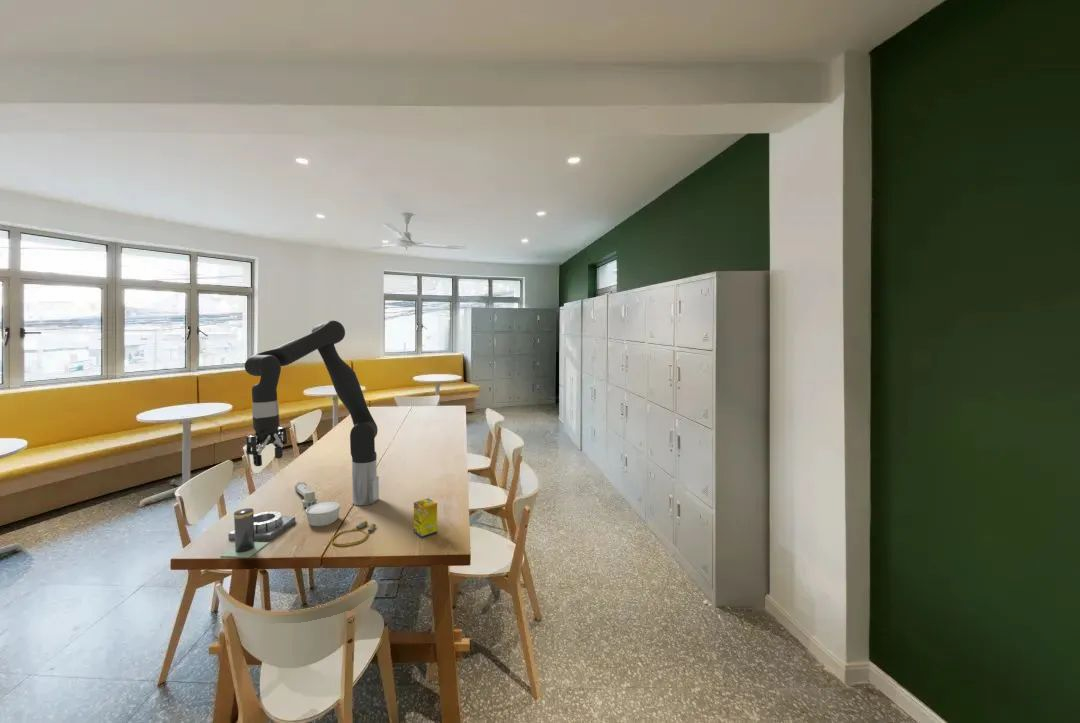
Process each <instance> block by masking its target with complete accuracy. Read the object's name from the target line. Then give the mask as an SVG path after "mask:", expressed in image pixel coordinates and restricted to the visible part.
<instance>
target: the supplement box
mask: <svg viewBox="0 0 1080 723" xmlns="http://www.w3.org/2000/svg"><path fill="white" fill-rule="evenodd" d="M413 533H414V534H416V535H417V536H419V538H421V539H425V538H428V537H430V536H432V535H435V534H437V533H438V503H437V502H436V501H434V500H432V499H431V498H429V497H428V498H424V499H420V500H417V501H413Z"/></svg>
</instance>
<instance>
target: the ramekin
mask: <svg viewBox="0 0 1080 723" xmlns="http://www.w3.org/2000/svg"><path fill="white" fill-rule="evenodd" d="M340 509H341V504H340V503H338V502H335V501H322V502H319V503H318V502H317V504H314V505H312V506H310V507H308V508H305V515H306V518H307V523H308V524H309V525H310V526H312V527H324V526H329V525H331V524H333V523H335V522H336V521H337V520H338V518H339V515H340V514H339V513H340Z"/></svg>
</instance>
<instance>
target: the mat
mask: <svg viewBox="0 0 1080 723" xmlns="http://www.w3.org/2000/svg"><path fill="white" fill-rule="evenodd" d="M254 543H255V547H254V548H253V549H251V550H249V551H246V552H236V551H235V545H234V546H233V547H232V548H230V549H228V550H227V551H225V552H224V553H223V554H221V555H220V558H236V559H237V558H238V559H239V558H241V559H245V558H246V559H249V558H251V557H252V556H254V555H255V554H256V553H258V552H259V551H260V550H262V549H264V548H265V547H266V546H267V545H269V542H267V541H266V542H265V541H254Z"/></svg>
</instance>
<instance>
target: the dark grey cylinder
mask: <svg viewBox="0 0 1080 723" xmlns="http://www.w3.org/2000/svg"><path fill="white" fill-rule="evenodd" d="M254 510H255V509H253V508H250V507H247V508H242V509H241V508H240V509H238V510H236V511H235V512H234V513H233V519H234V520H233V521H234V522H233V524H234V530H235V539H234V546H235V551H236V552H246V551H249V550H251V549H253V548H254V547H255V543H254V542H255V540H254Z"/></svg>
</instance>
